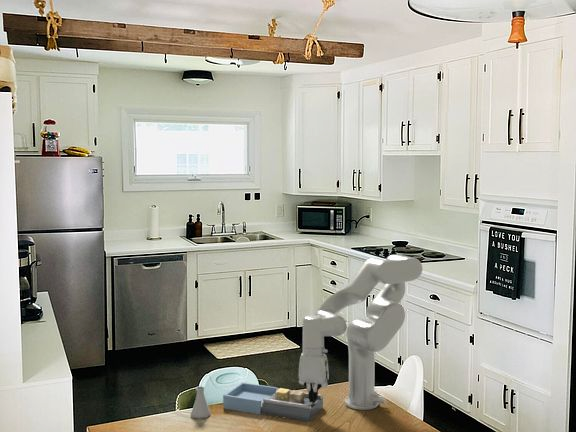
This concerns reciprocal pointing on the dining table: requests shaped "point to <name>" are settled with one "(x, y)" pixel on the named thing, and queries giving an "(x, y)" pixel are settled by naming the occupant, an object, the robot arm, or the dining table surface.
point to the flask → (200, 405)
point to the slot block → (292, 408)
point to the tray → (247, 397)
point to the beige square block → (296, 396)
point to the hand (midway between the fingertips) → (313, 401)
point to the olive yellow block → (282, 394)
